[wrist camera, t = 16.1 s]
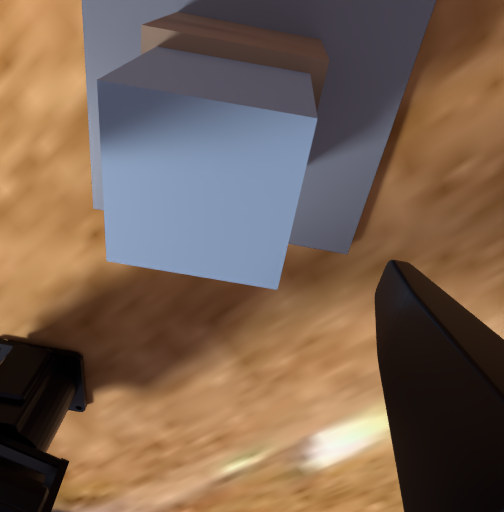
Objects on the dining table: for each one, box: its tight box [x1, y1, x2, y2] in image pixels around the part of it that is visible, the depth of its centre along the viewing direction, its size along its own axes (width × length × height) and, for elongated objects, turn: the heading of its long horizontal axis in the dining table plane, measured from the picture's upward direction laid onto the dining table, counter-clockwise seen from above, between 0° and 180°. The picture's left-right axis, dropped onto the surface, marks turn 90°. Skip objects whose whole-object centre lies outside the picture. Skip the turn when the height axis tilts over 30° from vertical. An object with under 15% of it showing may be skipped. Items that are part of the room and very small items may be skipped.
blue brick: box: [97, 46, 318, 290], centre depth 13 cm, size 5×5×5 cm
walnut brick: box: [141, 12, 329, 112], centre depth 17 cm, size 6×6×5 cm
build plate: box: [82, 0, 436, 254], centre depth 20 cm, size 14×14×1 cm
